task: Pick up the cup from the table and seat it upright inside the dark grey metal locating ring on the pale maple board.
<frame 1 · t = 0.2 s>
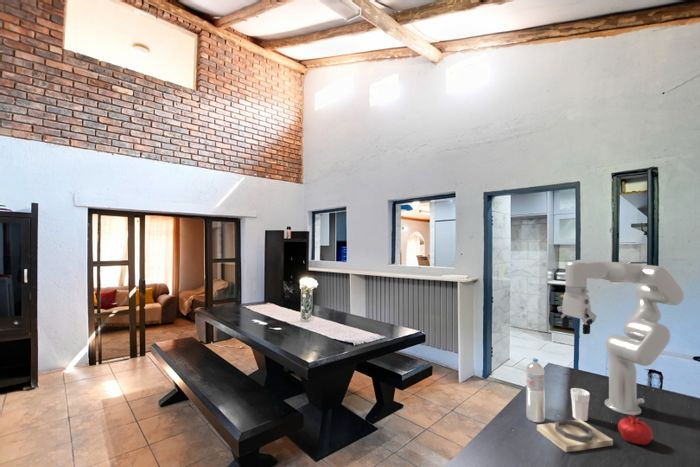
hand: (575, 330, 146), 36 cm above the table, tool pointing down, fingers open, 9 cm apart
cup: (580, 418, 143), on the table
seat board: (573, 437, 129), on the table
water bottle: (535, 419, 142), on the table
pomegranate: (634, 440, 128), on the table
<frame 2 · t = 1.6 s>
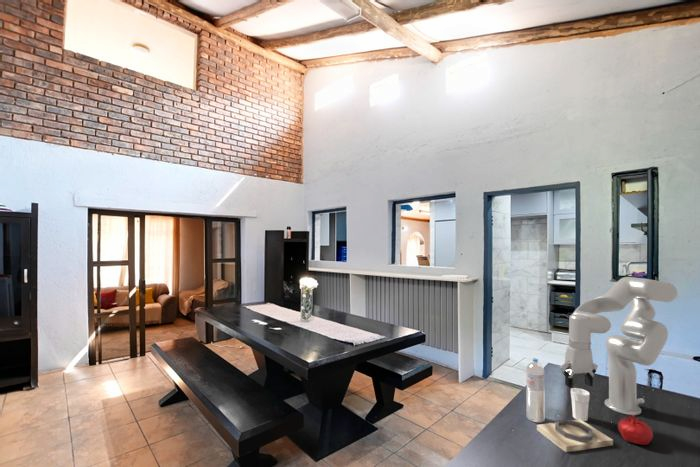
hand: (578, 385, 143), 13 cm above the table, tool pointing down, fingers open, 9 cm apart
nothing on the table moved.
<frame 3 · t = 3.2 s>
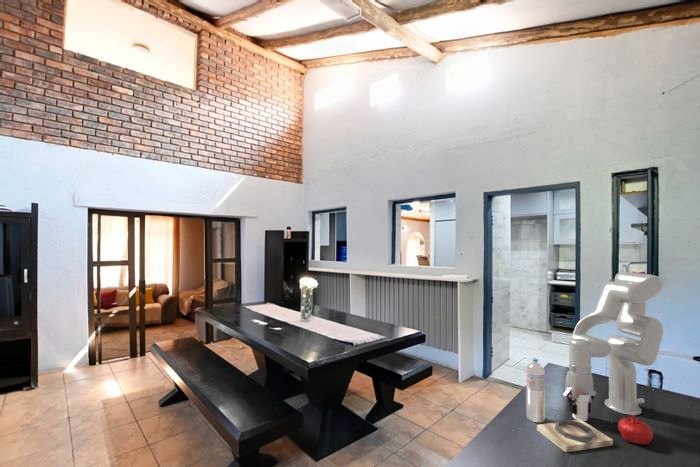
hand: (580, 411, 143), 3 cm above the table, tool pointing down, fingers closed on cup, 5 cm apart
cup: (580, 418, 143), on the table, touching gripper
everything else where it was.
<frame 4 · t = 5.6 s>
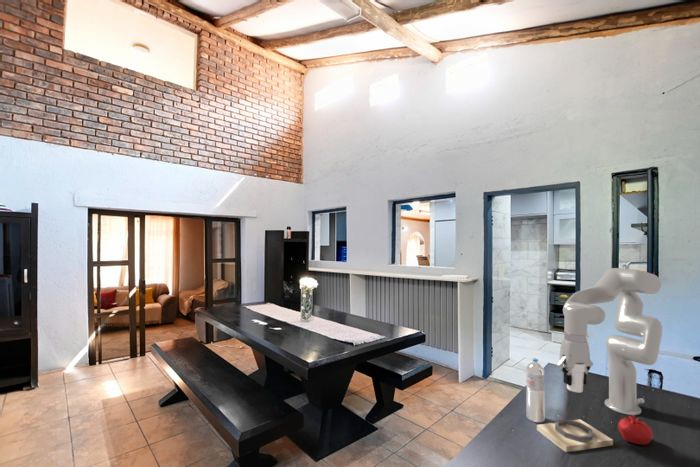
hand: (574, 383, 134), 18 cm above the table, tool pointing down, fingers closed on cup, 5 cm apart
cup: (574, 390, 134), point 16 cm above the table, touching gripper
everything else where it was.
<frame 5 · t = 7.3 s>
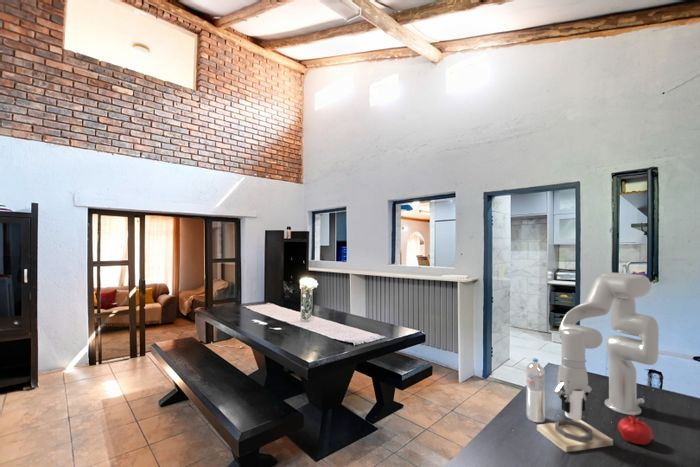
hand: (573, 409, 129), 10 cm above the table, tool pointing down, fingers closed on cup, 5 cm apart
cup: (573, 417, 129), point 8 cm above the table, touching gripper
everything else where it was.
when the fingers open (7 cm above the table, at t = 8.4 s): cup drops 2 cm, resting on seat board.
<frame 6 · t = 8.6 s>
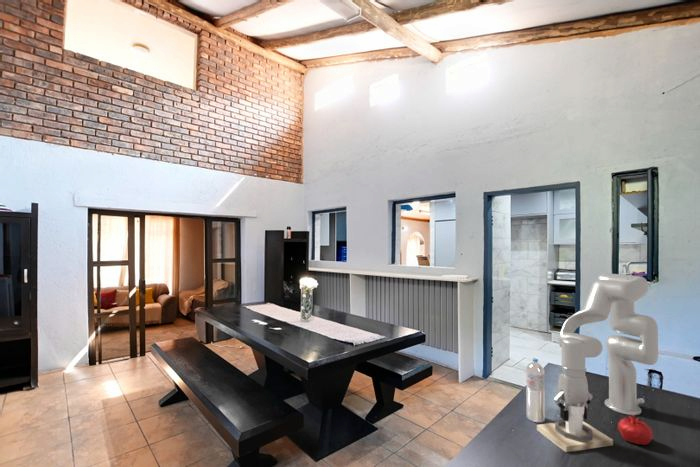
hand: (573, 418, 129), 7 cm above the table, tool pointing down, fingers open, 7 cm apart
cup: (574, 432, 130), point 2 cm above the table, touching gripper, seat board
everything else where it was.
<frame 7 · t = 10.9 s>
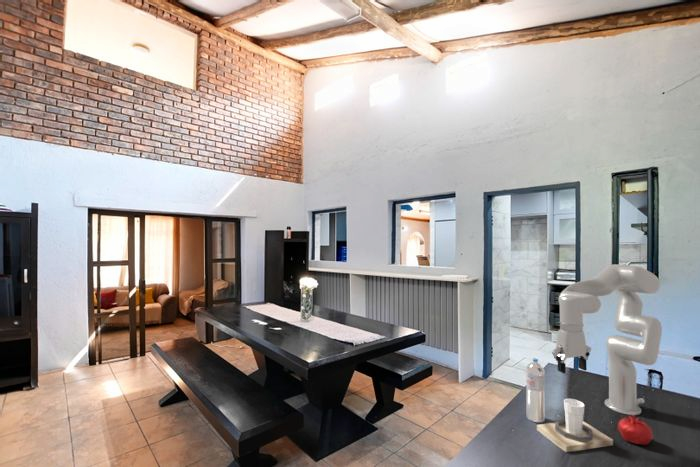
hand: (572, 370, 134), 23 cm above the table, tool pointing down, fingers open, 9 cm apart
cup: (574, 432, 130), point 2 cm above the table, touching seat board
everything else where it was.
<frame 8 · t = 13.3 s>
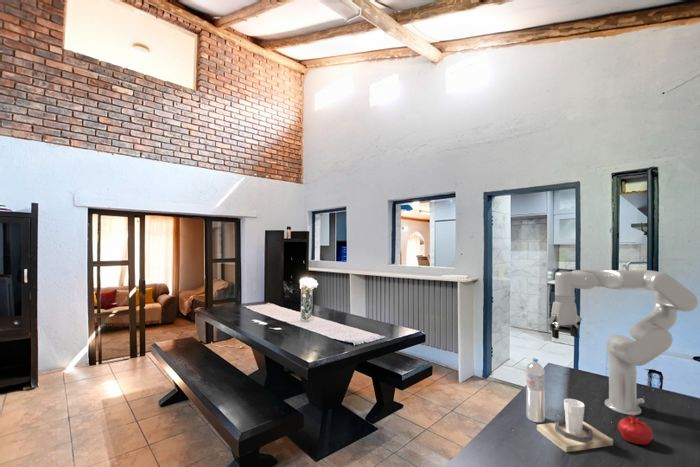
hand: (564, 337, 154), 30 cm above the table, tool pointing down, fingers open, 9 cm apart
nothing on the table moved.
at the end: cup 0.4 cm off-centre on the seat board, point 1.8 cm above the seat board's base; cup tilted 0°; the gripper is holding nothing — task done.
